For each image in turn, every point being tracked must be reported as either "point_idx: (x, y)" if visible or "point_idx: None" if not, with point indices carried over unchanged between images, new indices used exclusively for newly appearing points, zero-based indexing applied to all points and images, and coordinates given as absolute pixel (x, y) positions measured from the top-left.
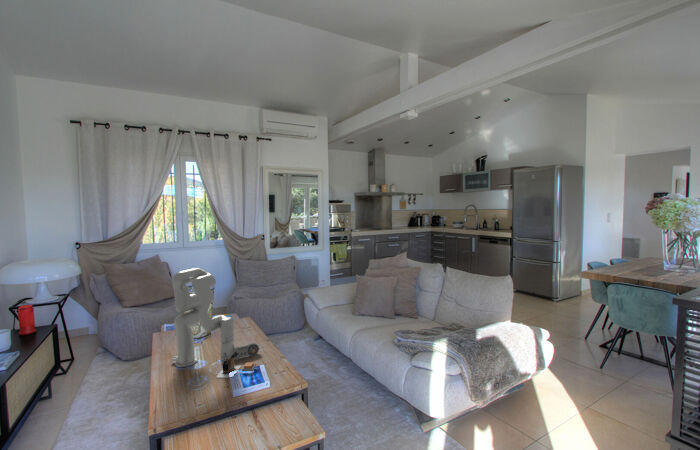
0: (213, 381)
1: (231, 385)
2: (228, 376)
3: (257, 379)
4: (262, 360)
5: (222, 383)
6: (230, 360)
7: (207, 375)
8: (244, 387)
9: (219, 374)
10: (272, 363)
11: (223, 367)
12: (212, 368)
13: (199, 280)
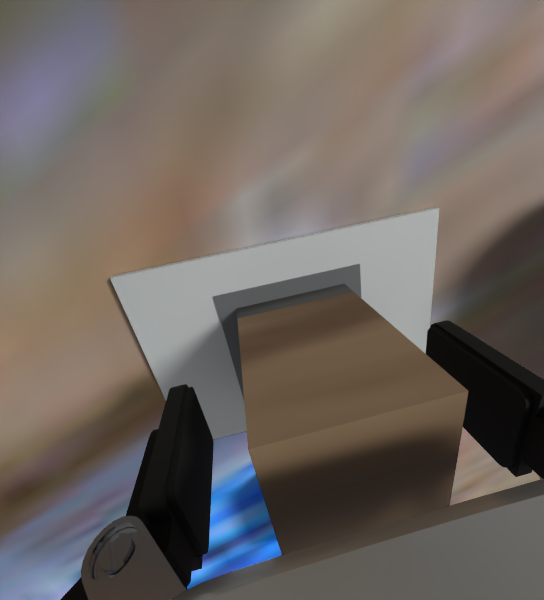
0: (21, 299)
1: (52, 503)
2: None
3: (213, 577)
4: (497, 469)
5: (40, 420)
6: (332, 534)
7: (134, 71)
8: (77, 579)
9: (200, 277)
10: None
11: (142, 463)
12: (385, 6)
13: None
